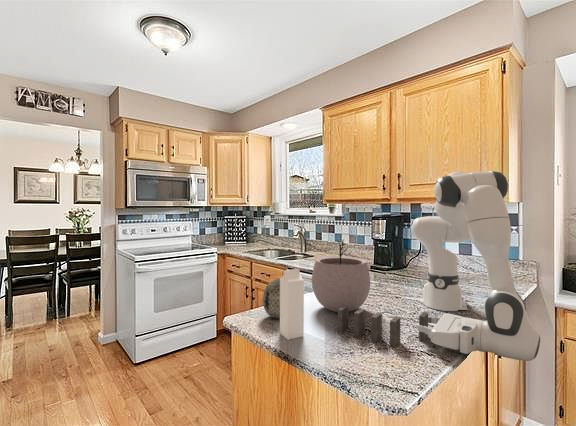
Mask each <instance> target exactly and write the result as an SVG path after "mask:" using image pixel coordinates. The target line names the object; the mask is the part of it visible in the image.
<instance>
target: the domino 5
mask: <svg viewBox="0 0 576 426" xmlns="http://www.w3.org/2000/svg"><path fill="white" fill-rule="evenodd" d="M428 316H429V312H425V311H422V312H421V314H420V315H419V316H418V324H419V325H420V324H421V325H425V326H426V327H428V328H429V323H428ZM419 325H418V326H419ZM418 333H419V334H418V341H420V342H425V341H426V340H428V338H429V335H427V334H425V333H424V332H420V331H418Z"/></svg>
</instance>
